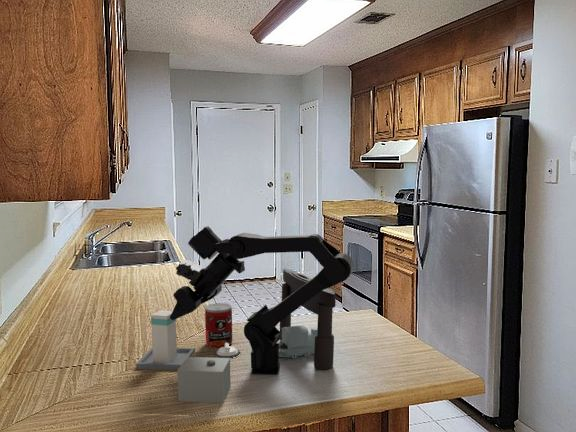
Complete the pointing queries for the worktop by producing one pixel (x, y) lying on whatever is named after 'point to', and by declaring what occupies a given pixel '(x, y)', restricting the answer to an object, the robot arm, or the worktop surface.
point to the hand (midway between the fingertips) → (179, 313)
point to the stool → (298, 337)
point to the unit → (204, 379)
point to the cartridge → (163, 337)
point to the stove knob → (227, 352)
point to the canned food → (218, 324)
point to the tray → (148, 363)
